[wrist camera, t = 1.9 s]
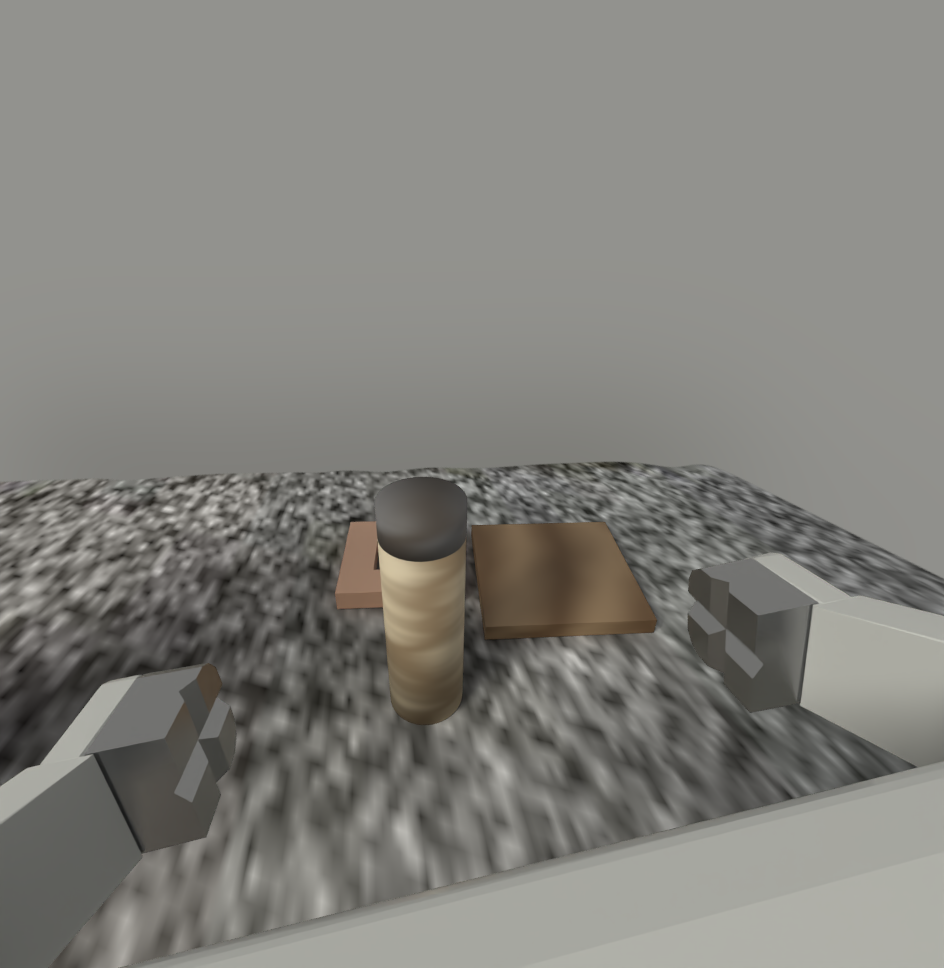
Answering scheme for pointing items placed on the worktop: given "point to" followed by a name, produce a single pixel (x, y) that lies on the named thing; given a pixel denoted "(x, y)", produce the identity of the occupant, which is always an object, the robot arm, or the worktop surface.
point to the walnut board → (556, 582)
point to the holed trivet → (360, 569)
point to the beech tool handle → (423, 594)
